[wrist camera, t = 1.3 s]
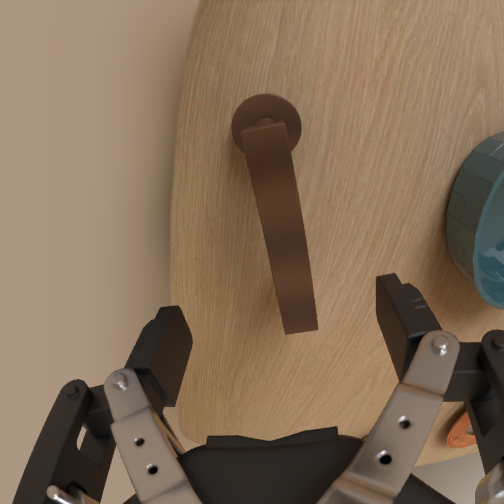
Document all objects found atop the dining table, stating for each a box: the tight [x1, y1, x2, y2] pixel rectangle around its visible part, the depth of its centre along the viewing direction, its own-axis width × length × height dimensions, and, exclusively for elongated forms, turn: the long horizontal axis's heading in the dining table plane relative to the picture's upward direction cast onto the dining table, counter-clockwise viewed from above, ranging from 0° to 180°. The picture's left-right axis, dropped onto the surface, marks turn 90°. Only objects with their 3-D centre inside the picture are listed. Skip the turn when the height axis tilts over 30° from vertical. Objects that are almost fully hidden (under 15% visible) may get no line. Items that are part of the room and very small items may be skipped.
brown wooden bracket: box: [232, 94, 318, 335], centre depth 22 cm, size 16×5×9 cm, turn 12°
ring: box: [446, 411, 477, 448], centre depth 40 cm, size 25×25×2 cm
